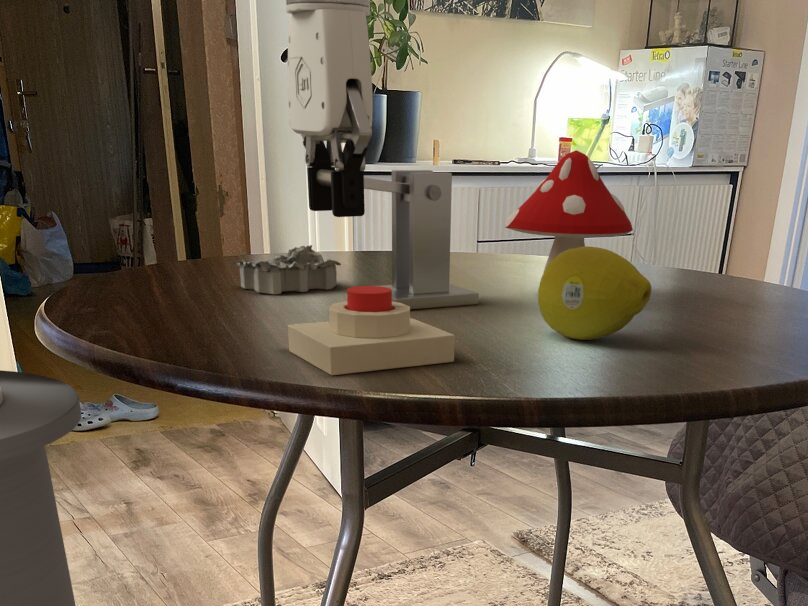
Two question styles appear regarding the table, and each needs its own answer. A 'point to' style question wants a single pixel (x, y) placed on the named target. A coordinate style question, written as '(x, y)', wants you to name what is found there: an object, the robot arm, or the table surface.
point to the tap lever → (371, 184)
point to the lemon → (591, 293)
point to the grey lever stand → (424, 243)
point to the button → (369, 299)
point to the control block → (369, 341)
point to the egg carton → (289, 272)
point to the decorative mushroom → (571, 207)
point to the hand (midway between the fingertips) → (336, 211)
